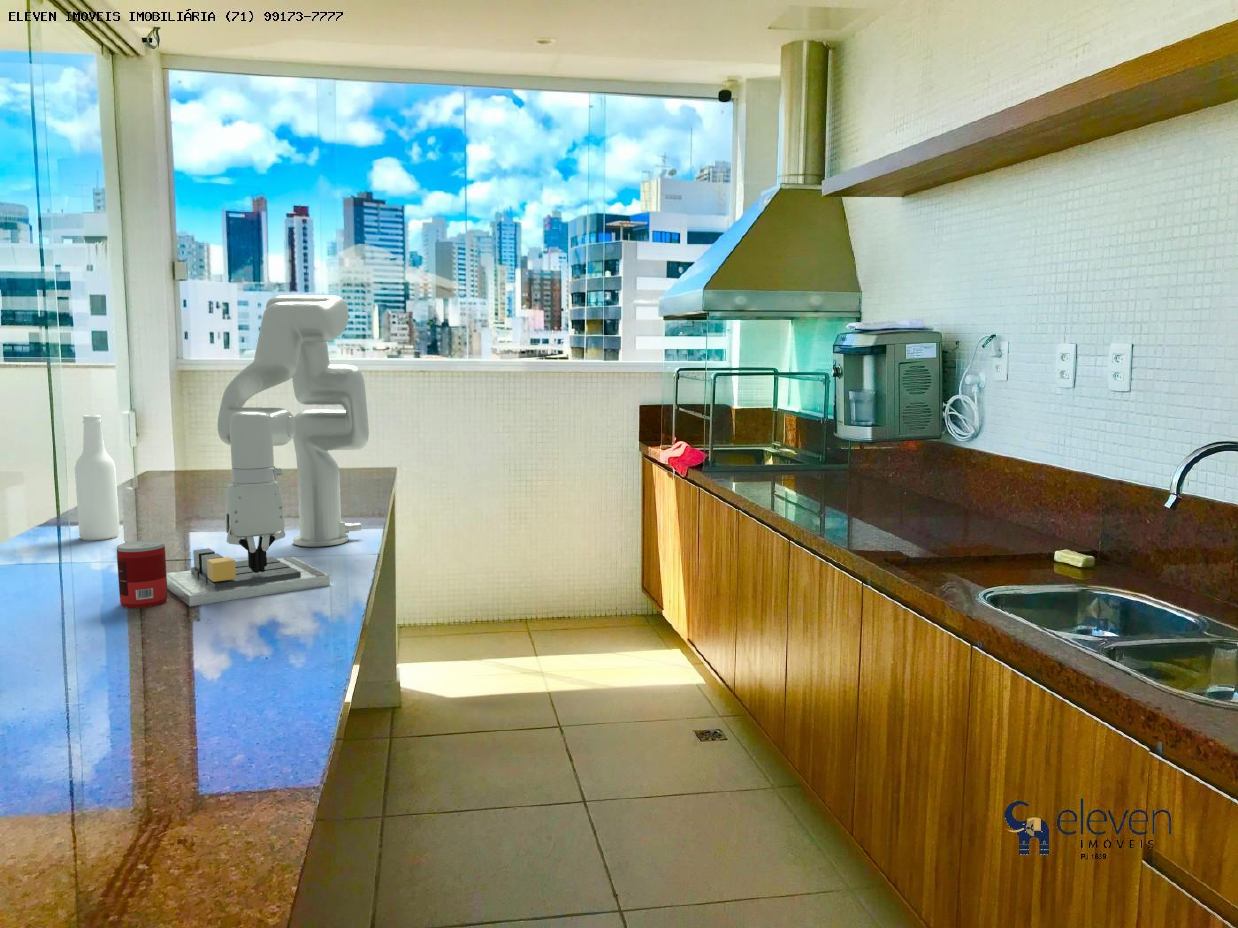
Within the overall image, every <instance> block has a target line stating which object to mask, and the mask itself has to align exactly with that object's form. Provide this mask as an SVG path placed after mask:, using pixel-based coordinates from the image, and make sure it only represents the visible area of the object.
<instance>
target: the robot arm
mask: <svg viewBox="0 0 1238 928" xmlns="http://www.w3.org/2000/svg"><path fill="white" fill-rule="evenodd" d="M260 323H261V324H260V328H259V333H258V339H257V343H256V350H255V353H254V359H253V361H252V362H251V363H250V364H249V365H247V366H246V367H245V368H243V369H242V370H241V371H240V372H239V373H237V375H236V376H235V377H234V378H233V379H232V380H231V381H230V382H229V383H228V384H227V386H226V387H225V389H224V392H223V395H222V397H221V402H220V408H219V411H218V415H217V417H218V418H217V433H218V437H219V438H220V440H221V441H222V442H223V443H224V444H226V445H228V446H230V455H231V456H230V459H231V479H232V483H231V484H228V485H227V488H226V496H225V510H224V511H225V513H224V517H225V518H224V520H225V521H224V526H225V532H226V534H227V537H226V542H227V543H228V544H230V545H238V546H241V547H243V549H245V550H246V551H247V560H248V564H249V568H251V570H252V571H253V572H255V573H259V572H265V566H267V558H268V557H267V551H269V548H270V547H271V545H272V544H274V542H275V541H279V540H281V539H283V538H285V537H286V532H285V526H286V525H285V522H286V521H285V510H284V503H283V498H282V493H281V488H280V485H279V481H276V478H277V477H278V476H282V475H283V474H282V473H283V472H282V468H277V467H276V466H275V464H274V463H275V460H274V459H275V458H274V447H280V446H284V445H286V444H288V443H290V441H292V442H293V445H294V450H295V457H296V468H297V469H296V470H297V472H296V473H297V493H298V494H297V495H298V512H299V513H298V516H299V518H298V519H299V535H298V536H295V537H294V538H293V539H292V540H293V543H292V544H294V545H296V546H300V547H307V548H308V547H309V548H311V547H312V548H313V547H330V546H338V545H341V544H344V543H347V542H348V541H349V535H348V534H349V532H359V531H361V530H362V524H361V522H353V523H352V522H345V521H342V514H341V513H342V510H341V509H342V508H341V484H340V483H341V482H340V481H341V479H340V477H341V475H340V467H339V464H338V463H337V461H336V460H335V458H333V456H332V454H330V452H329V451H354V450H361V449H363V448H365V447H366V446H367V444H368V442H369V434H370V431H369V430H370V428H369V416H368V405H367V395H366V385H365V379H364V376H363V373H362V371H361V369H359V368H358V366H356V365H353V364H332V363H331V362H330V357H329V349H328V343H329V342H331V341H333V340H335V339H336V338H337V337H339V336H340V335H342V334H343V333H344V331H346V328H347V326H348V323H349V310H348V306H347V303H346V302H345V300H344V298H342V297H340V296H339V295H324V294H323V295H322V294H321V295H318V294H317V295H314V294H311V295H309V294H308V295H307V294H289V295H288V294H286V295H285V294H284V295H282V294H281V295H278V296H273V297H271V298H269V299H268V300H267V301H266V305H265V310H264V311H263V315H262V318H261V322H260ZM289 380H292V386H293V393H294V396H295V398H296V401H297V402H298V403H300V404H302V405H305V406H317V407H320V406H321V407H322V406H323V407H325V406H331V407H332V406H333V407H334V406H336V407H337V406H341V407H342V408H343V409H305V410H303V411H300V412H298V413H297V414H295V415H293V414H292V413H291V412H290V411H289V410H287V409H286V408H283V407H282V408H281V407H261V406H260V407H254V406H253V407H249V406H247V407H243V406H244V405H245V404H246V402H247V401H249V400H250V399H251V398H253V397H254V396H255V395H258V394H259V393H261V392H264V391H266V390H268V389H270V388H273V387H275V386H278V385H280V384H282V383H285V382H287V381H289ZM254 537H258V540H257V542H258V543H257V546H256V542H255V538H254Z"/></svg>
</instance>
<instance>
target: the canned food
mask: <svg viewBox="0 0 1238 928" xmlns="http://www.w3.org/2000/svg"><path fill="white" fill-rule="evenodd" d="M166 559H167V557H166V545H165V542H164V541H163V540H158V539H157V540H156V539H151V540H150V539H145V540H134V541H133V540H132V541H128V542H127V541H126V542H123V543H120V544H119V545H117V546H116V563H117V564H116V565H117V573H118V574H117V577H118V591H119V592H118V593H119V603H120V604H121V607H122V608H125V609H143V608H144V609H146V608H152V607H157V606H161V605H163V604H165V603H166V602H167V600H168V588H167V574H166V573H167V560H166Z"/></svg>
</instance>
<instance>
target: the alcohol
mask: <svg viewBox="0 0 1238 928" xmlns="http://www.w3.org/2000/svg"><path fill="white" fill-rule="evenodd" d="M82 419H83V420H82V424H83V441H82V442H83V445H82V449H83V450H82V453H81V455H80V456H79V457H78V459H76V462H75V466H74V475H75V489H76V491H75V493H76V505H77V507H76V508H77V521H78V533H79V534H78V537H80V538H81V539H82V540H83V541H95V542H96V541H104V540H105V541H106V540H111V539H110V538H112V539H114V538H115V537H116V538H117V537H118V536H119V535H120V533H121V530H120V515H119V513H120V512H119V499H118V484H117V470H116V469H117V468H116V464H115V460H114V459H113V458H112V457H111V456H110V454H108V452H107V450H106V446H105V441H104V435H103V428H102V416H101V414H85V415H83V416H82ZM116 538H115V539H116Z"/></svg>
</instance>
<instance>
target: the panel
mask: <svg viewBox="0 0 1238 928" xmlns="http://www.w3.org/2000/svg"><path fill="white" fill-rule="evenodd" d="M192 551H193V553H192V554H193V566H192V567H190V570H185V571H184V570H183V571H177V572H175V571H172V572H166V574H167V590H169V591H170V592H172V594H174V595H176V597H178V599H180V600H181V601H182V602H184V603H185V604H186V605H187V606H188V607H196V606H202V605H208V604H209V605H210V604H214V603H220V602H227V601H235V600H242V599H248V598H253V597H261V596H267V595H275V594H279V593H287V592H292V591H295V592H296V591H301V590H307V589H312V588H314V589H315V588H320V587H325V586H327V587H328V586H331V578H330V577H331V576H330V574H328V573H326V572H324V571H322V570H320V569H318V568H316V567H314V566H313V565H310V564H308V563H306V562H304V561H302V560H301V559H299V558H296V557H294V556H287V557H286V556H285V557H282V558H275V557H273V556H271V557H267V566H265V572H259V573H255V572H253V571H252V570H251V568H249V564H248V559H246V560H239V561H235V570H236V579H231V580H224V581H216V582H213V581H212V580H210V579H209V578H208V573H207V560H208V559H216V558H224V556H223V555H221V554H219V553H216V552H215V551H214V550H213V549H211V548H209V547H208V548H201V549H194V550H193V549H192Z"/></svg>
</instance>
